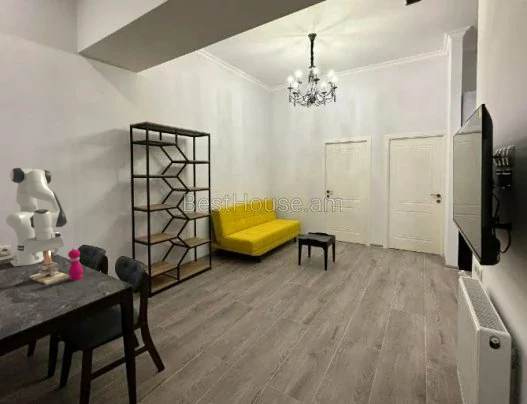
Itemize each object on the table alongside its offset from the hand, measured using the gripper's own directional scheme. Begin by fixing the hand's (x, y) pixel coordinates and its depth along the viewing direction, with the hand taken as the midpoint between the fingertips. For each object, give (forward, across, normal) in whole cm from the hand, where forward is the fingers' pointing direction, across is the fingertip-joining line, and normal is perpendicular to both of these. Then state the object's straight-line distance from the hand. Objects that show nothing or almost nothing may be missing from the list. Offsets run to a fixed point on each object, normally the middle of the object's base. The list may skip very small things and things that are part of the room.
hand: (46, 257), depth 166 cm
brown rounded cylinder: (+12, 0, 0) cm, 12 cm away
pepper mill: (+13, +8, -17) cm, 23 cm away
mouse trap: (+14, 0, 0) cm, 14 cm away
